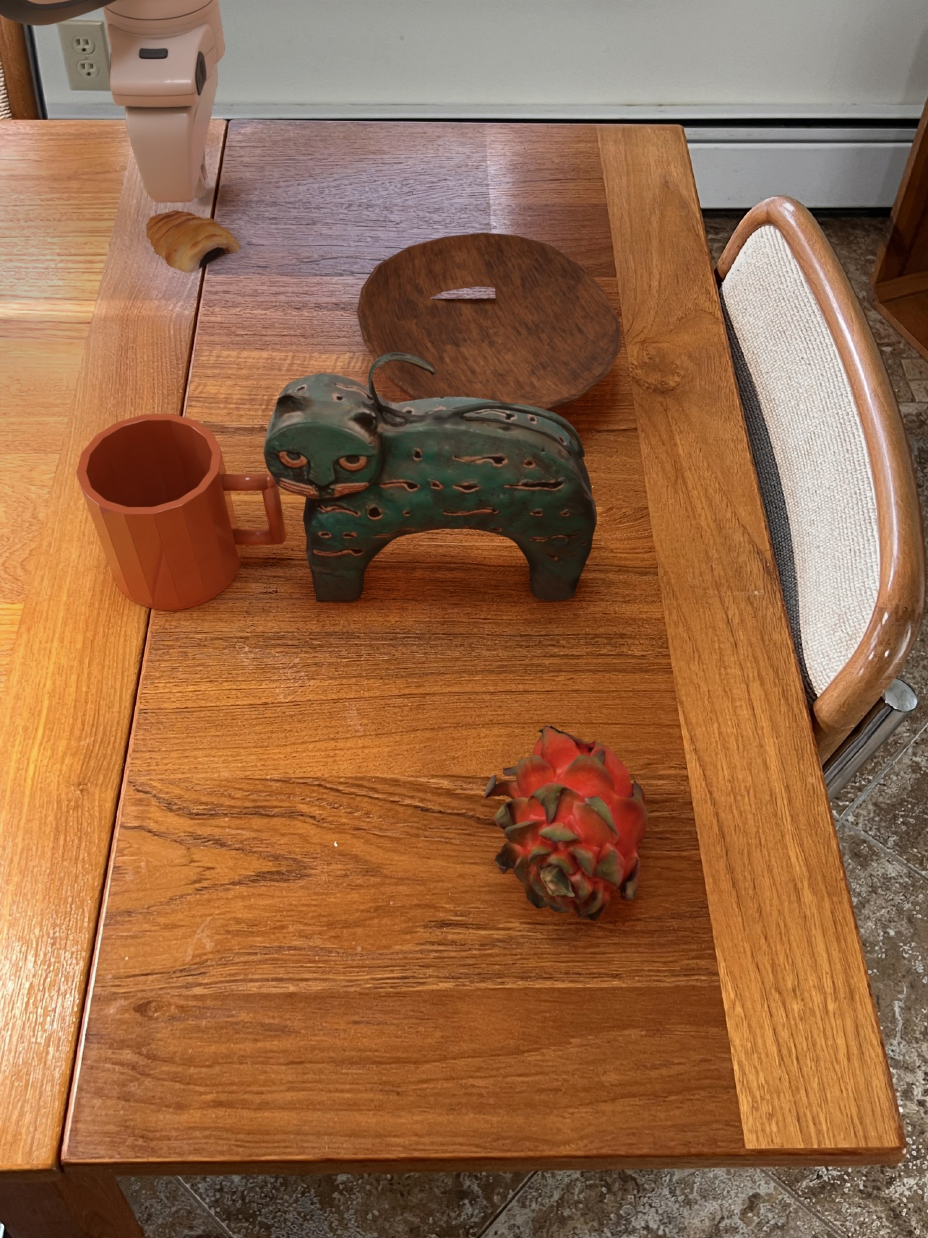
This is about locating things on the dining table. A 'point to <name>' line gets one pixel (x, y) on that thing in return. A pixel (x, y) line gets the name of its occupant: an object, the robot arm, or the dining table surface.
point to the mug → (170, 509)
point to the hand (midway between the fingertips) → (196, 188)
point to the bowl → (490, 321)
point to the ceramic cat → (428, 477)
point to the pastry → (188, 240)
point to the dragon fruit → (571, 825)
